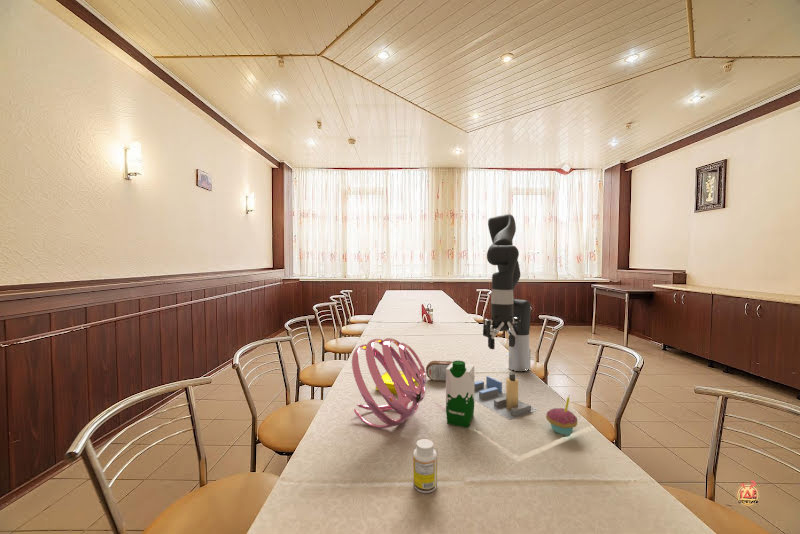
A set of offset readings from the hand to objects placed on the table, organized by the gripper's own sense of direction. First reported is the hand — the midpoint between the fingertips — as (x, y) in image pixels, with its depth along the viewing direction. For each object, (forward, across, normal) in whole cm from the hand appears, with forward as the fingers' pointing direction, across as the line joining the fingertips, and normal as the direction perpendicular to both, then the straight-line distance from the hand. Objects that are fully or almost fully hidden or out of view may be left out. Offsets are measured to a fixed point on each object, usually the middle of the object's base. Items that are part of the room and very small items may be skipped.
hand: (501, 347), depth 116 cm
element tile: (+22, +27, -32) cm, 47 cm away
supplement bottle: (+22, +42, +26) cm, 54 cm away
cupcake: (+22, -6, +20) cm, 30 cm away
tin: (+22, +6, -31) cm, 38 cm away
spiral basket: (+22, +40, -7) cm, 46 cm away
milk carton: (+22, +18, +2) cm, 29 cm away
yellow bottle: (+21, -2, +3) cm, 21 cm away
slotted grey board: (+22, -1, -4) cm, 22 cm away
